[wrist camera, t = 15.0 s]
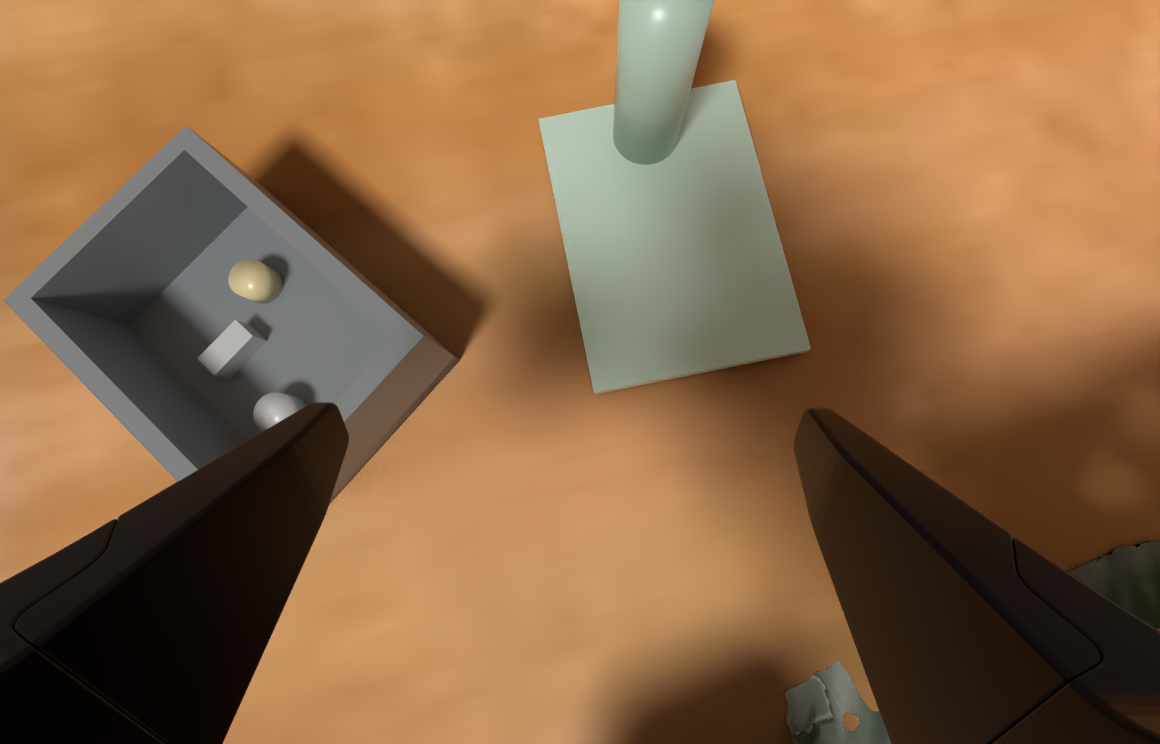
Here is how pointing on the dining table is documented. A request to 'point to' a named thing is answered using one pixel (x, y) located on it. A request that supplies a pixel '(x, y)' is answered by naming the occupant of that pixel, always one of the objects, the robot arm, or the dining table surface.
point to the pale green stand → (668, 215)
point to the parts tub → (223, 317)
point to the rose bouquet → (816, 708)
